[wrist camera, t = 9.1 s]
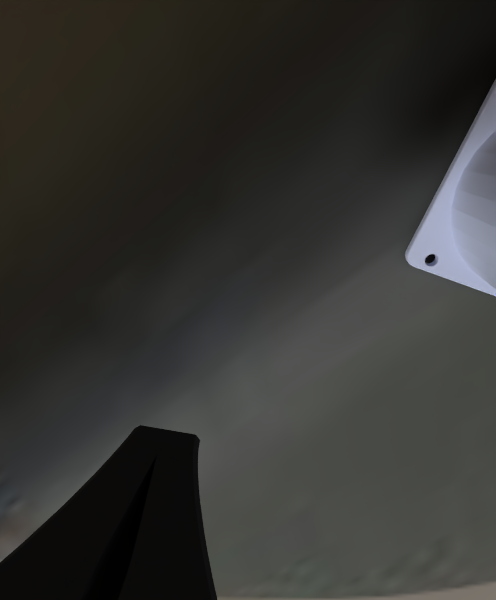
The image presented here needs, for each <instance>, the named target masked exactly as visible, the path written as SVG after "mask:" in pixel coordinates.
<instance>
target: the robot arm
mask: <svg viewBox="0 0 496 600" xmlns="http://www.w3.org/2000/svg"><path fill="white" fill-rule="evenodd" d="M430 254H435V260H434V261H433V262H432V263H429V264H427V263H425V258H426V257H427V256H428V255H430ZM405 257H406V260H407V261H408V263H409V264H410V265H412V266H413V267H416V268H419V269H422V270H424V271H427V272H430V273H433V274H435V275H438V276H441V277H444V278H446V279H449V280H452V281H455V282H458V283H460V284H463V285H466V286H469V287H471V288H474V289H477V290H480V291H483V292H485V293H488V294H491V295H494V296H496V79H495V81H494V83H493V85H492V87H491V89H490V91H489V92H488V94H487V96H486V98H485V100H484V102H483V104H482V106H481V108H480V110H479V112H478V114H477V115H476V117H475V119H474V121H473V123H472V125H471V127H470V129H469V131H468V133H467V135H466V137H465V138H464V140H463V142H462V144H461V146H460V148H459V150H458V152H457V154H456V156H455V158H454V160H453V162H452V163H451V165H450V167H449V169H448V171H447V173H446V175H445V177H444V179H443V181H442V183H441V185H440V186H439V188H438V190H437V192H436V194H435V196H434V198H433V200H432V202H431V204H430V206H429V208H428V209H427V211H426V213H425V215H424V217H423V219H422V221H421V223H420V225H419V227H418V229H417V231H416V232H415V234H414V236H413V238H412V240H411V242H410V244H409V246H408V248H407V250H406V253H405ZM199 443H200V440H199V438H198V437H197V436H196V435H194V434H188V433H182V432H177V431H171V430H165V429H159V428H153V427H147V426H141V425H140V426H138V427H136V428H135V429H134V430H133V431H132V432H131V434H130V435H129V436H128V437H127V439H126V440H125V441H124V442H123V443H122V444H121V446H120V447H119V448H118V449H117V450H116V451H115V452H114V454H113V455H112V456H111V457H110V458H109V459H108V460H107V461H106V462H105V463H104V464H103V466H102V467H101V468H100V469H99V470H98V471H97V472H96V473H95V474H94V475H93V476H92V477H91V478H90V479H89V480H88V481H87V482H86V483H85V484H84V485H83V486H82V487H81V488H80V489H79V490H78V491H77V492H76V493H75V494H74V495H73V496H72V497H71V498H70V499H69V500H68V501H67V502H66V503H65V504H64V505H63V506H62V507H61V508H60V509H59V510H58V511H57V512H56V513H55V514H54V515H53V516H51V517H50V518H49V519H48V520H47V521H46V522H45V523H44V524H43V525H42V526H41V527H39V528H38V529H37V530H36V531H35V532H34V533H33V534H32V535H31V536H30V537H29V538H28V539H26V540H25V541H24V542H23V543H22V544H21V545H20V546H19V547H18V548H16V549H15V550H14V551H13V552H12V553H11V554H9V555H8V556H7V557H6V558H5V559H4V560H3V561H1V562H0V600H217V596H216V592H215V587H214V583H213V578H212V573H211V568H210V562H209V557H208V552H207V546H206V541H205V535H204V528H203V520H202V513H201V505H200V496H199V484H198V448H199Z"/></svg>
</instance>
